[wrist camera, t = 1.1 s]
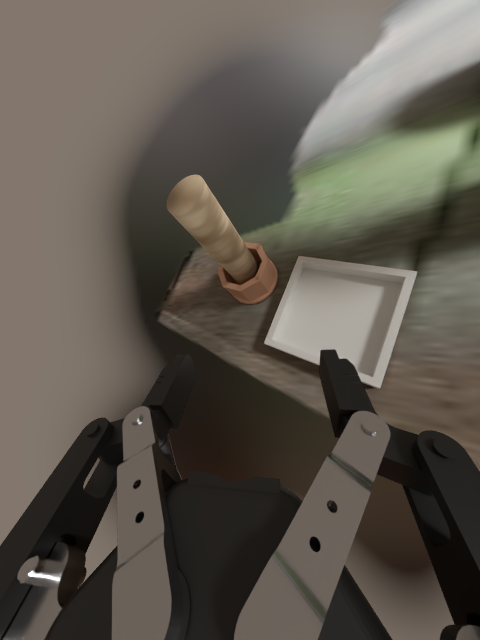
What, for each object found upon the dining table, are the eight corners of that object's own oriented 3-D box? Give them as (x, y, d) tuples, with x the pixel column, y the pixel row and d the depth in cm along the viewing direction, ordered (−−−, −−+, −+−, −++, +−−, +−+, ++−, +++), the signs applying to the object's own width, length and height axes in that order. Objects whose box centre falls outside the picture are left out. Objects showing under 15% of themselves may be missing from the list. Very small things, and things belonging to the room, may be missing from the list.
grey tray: (301, 264, 36) (298, 255, 34) (410, 281, 28) (417, 271, 26) (269, 346, 34) (263, 343, 32) (375, 388, 27) (380, 388, 24)
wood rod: (245, 265, 40) (178, 176, 23) (267, 269, 38) (211, 173, 20) (236, 287, 40) (160, 213, 22) (258, 293, 37) (191, 214, 20)
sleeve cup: (242, 255, 43) (229, 238, 37) (285, 262, 38) (278, 243, 33) (224, 297, 42) (208, 285, 36) (266, 310, 37) (255, 298, 31)
